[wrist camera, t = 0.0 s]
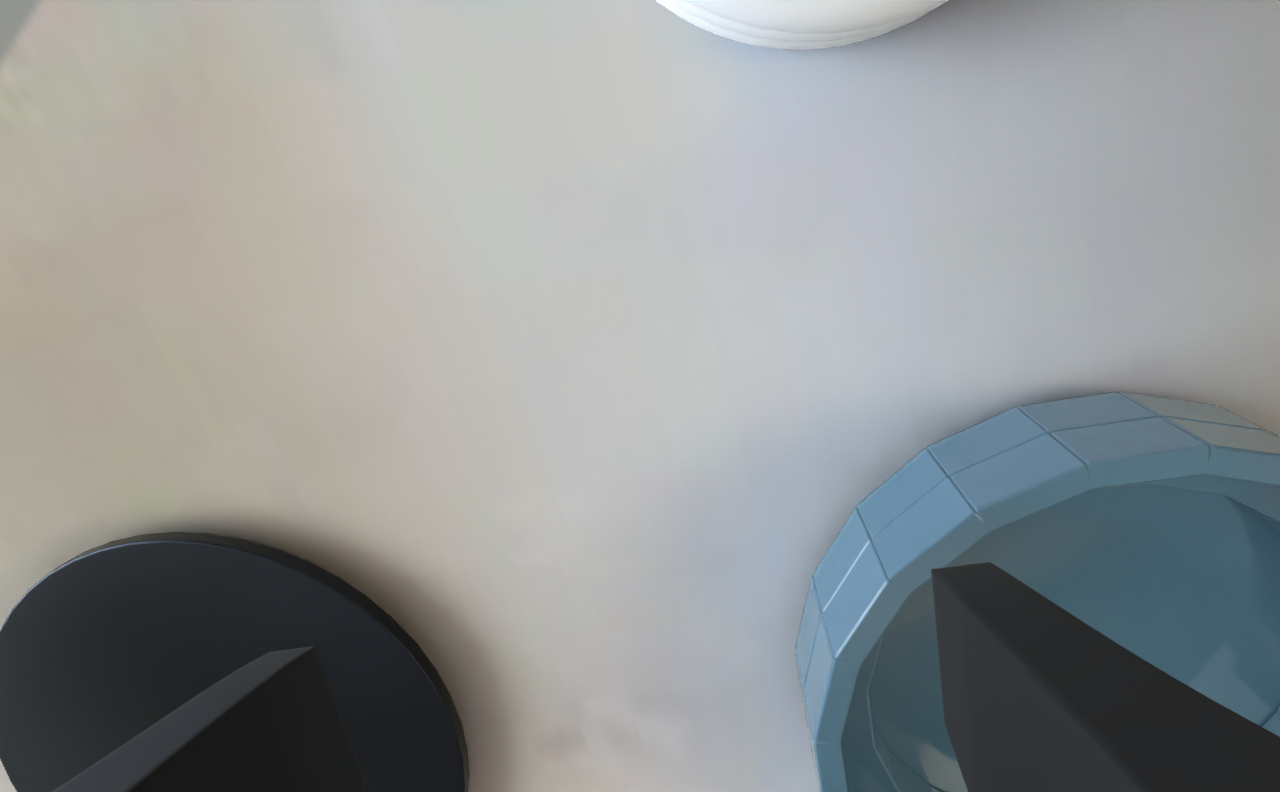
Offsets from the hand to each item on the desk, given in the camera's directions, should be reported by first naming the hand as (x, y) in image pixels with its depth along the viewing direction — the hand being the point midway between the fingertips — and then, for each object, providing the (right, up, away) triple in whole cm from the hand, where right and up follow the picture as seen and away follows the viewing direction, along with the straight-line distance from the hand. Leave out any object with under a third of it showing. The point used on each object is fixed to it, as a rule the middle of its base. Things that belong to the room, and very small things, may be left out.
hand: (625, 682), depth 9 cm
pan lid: (-12, -7, +13) cm, 19 cm away
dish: (+11, -3, +11) cm, 16 cm away
